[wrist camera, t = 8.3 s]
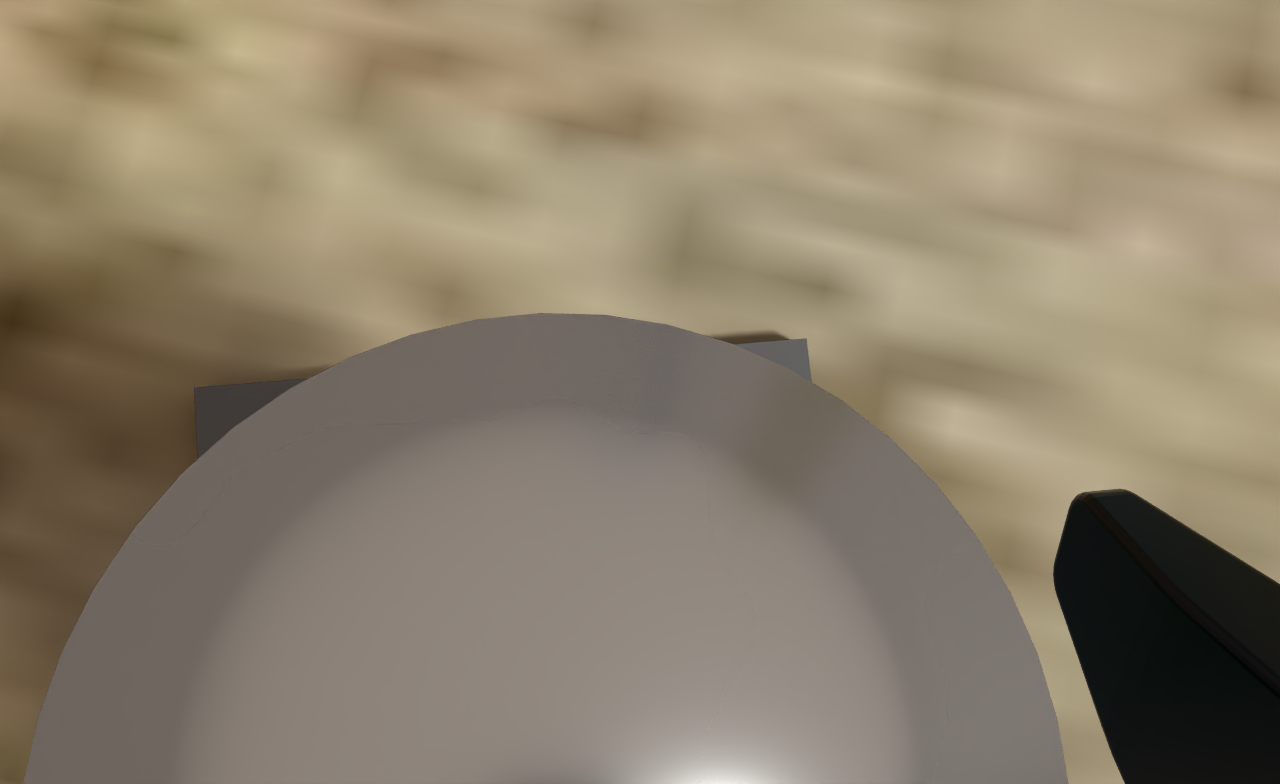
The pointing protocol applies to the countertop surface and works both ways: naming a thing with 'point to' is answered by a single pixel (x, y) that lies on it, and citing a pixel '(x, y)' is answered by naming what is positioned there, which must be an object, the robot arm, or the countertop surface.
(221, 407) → the mat
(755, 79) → the countertop surface
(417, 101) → the countertop surface
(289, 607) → the tin
